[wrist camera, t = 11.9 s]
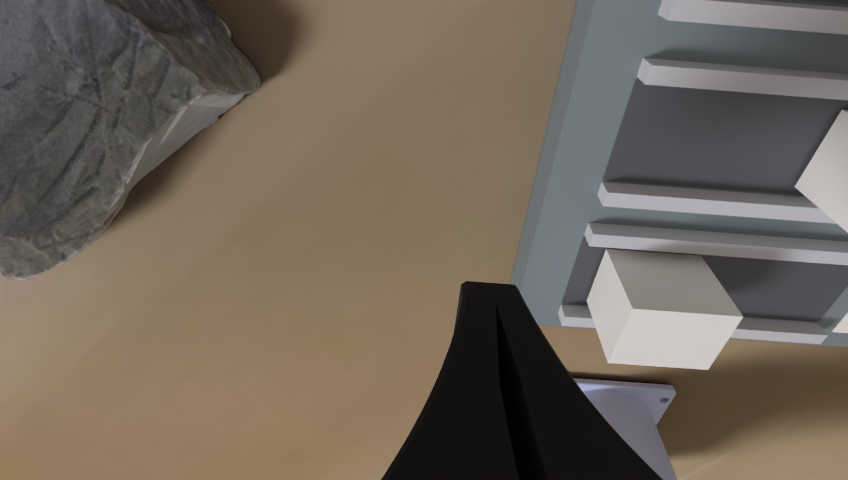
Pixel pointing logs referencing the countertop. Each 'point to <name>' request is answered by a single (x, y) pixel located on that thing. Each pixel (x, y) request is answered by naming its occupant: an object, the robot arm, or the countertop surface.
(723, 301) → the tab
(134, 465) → the countertop surface
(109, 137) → the grey rock
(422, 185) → the countertop surface
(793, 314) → the switch panel
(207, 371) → the countertop surface
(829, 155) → the tab middle
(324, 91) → the countertop surface
